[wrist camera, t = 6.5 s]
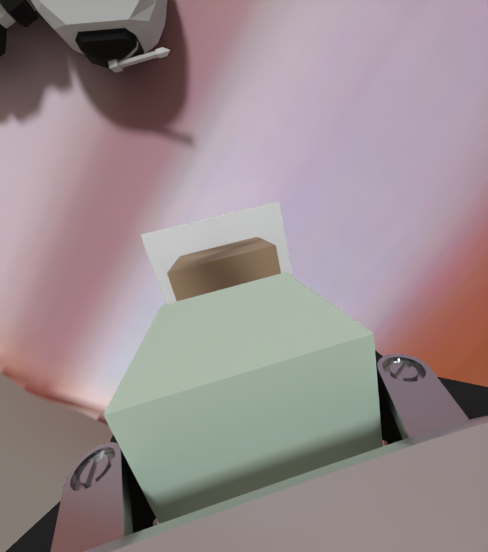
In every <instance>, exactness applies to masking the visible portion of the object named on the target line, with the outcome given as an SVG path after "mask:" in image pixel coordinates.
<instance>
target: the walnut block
mask: <svg viewBox="0 0 488 552" xmlns="http://www.w3.org/2000/svg"><path fill="white" fill-rule="evenodd" d="M277 274H281V270H280V265H279V259H278V254H277V249H276V245H274V244H272V243H270V242H268V241H266V240H264V239H261V238H259V237H254V238H250V239H246V240H242V241H238V242H234V243H230V244H226V245H222V246H218V247H214V248H210V249H206V250H202V251H198V252H194V253H190V254H186V255H182V256H179V258H178V259H177V260H176V262H175V263H174V264H173V266H172V267H171V268H170V270H169V271H168V272H167V275H168V278H169V280H170V283H171V286H172V289H173V292H174V295H175V298H176V301H180V300H184V299H188V298H192V297H195V296H199V295H203V294H207V293H210V292H214V291H218V290H221V289H225V288H229V287H233V286H236V285H240V284H244V283H247V282H251V281H255V280H259V279H262V278H266V277H270V276H274V275H277Z"/></svg>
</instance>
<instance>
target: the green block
mask: <svg viewBox="0 0 488 552" xmlns="http://www.w3.org/2000/svg"><path fill="white" fill-rule="evenodd" d="M104 417H105V419H106V421H107V423H108V425H109V427H110V429H111V431H112V433H113V435H114V437H115V439H116V441H117V442H118V444H119V446H120V448H121V450H122V452H123V454H124V456H125V458H126V460H127V462H128V464H129V466H130V468H131V470H132V472H133V474H134V476H135V477H136V479H137V481H138V483H139V485H140V487H141V489H142V491H143V493H144V495H145V497H146V499H147V501H148V503H149V505H150V507H151V509H152V510H153V512H154V514H155V516H156V518H157V520H158V522H159V524H161V523H164V522H167V521H169V520H172V519H175V518H178V517H181V516H184V515H186V514H189V513H192V512H195V511H198V510H201V509H203V508H206V507H209V506H212V505H215V504H217V503H220V502H223V501H226V500H229V499H232V498H235V497H238V496H240V495H243V494H246V493H249V492H252V491H255V490H258V489H261V488H263V487H266V486H269V485H272V484H275V483H278V482H281V481H284V480H287V479H289V478H292V477H295V476H298V475H301V474H304V473H307V472H310V471H313V470H315V469H318V468H321V467H324V466H327V465H330V464H333V463H336V462H339V461H342V460H345V459H348V458H351V457H354V456H357V455H359V454H362V453H365V452H368V451H371V450H374V449H377V448H380V447H383V444H382V431H381V419H380V406H379V394H378V381H377V369H376V356H375V343H374V333H372V332H371V331H369V330H368V329H367V328H365V327H364V326H362V325H361V324H359V323H358V322H357V321H355V320H354V319H352V318H351V317H350V316H348V315H347V314H345V313H344V312H343V311H341V310H340V309H338V308H337V307H336V306H334V305H333V304H331V303H330V302H328V301H327V300H326V299H324V298H323V297H321V296H320V295H319V294H317V293H316V292H314V291H313V290H312V289H310V288H309V287H307V286H306V285H305V284H303V283H302V282H300V281H299V280H298V279H296V278H295V277H293V276H292V275H290V274H289V273H288V272H285V273H281V274H277V275H274V276H270V277H266V278H262V279H259V280H255V281H251V282H247V283H244V284H240V285H236V286H233V287H229V288H225V289H221V290H218V291H214V292H210V293H207V294H203V295H199V296H195V297H192V298H188V299H184V300H180V301H177V302H173V303H169V304H166V305H162V306H161V308H160V309H159V311H158V313H157V315H156V317H155V319H154V321H153V323H152V324H151V326H150V328H149V330H148V332H147V334H146V336H145V338H144V340H143V341H142V343H141V345H140V347H139V349H138V351H137V353H136V355H135V357H134V358H133V360H132V362H131V364H130V366H129V368H128V370H127V372H126V373H125V375H124V377H123V379H122V381H121V383H120V385H119V387H118V389H117V390H116V392H115V394H114V396H113V398H112V400H111V402H110V404H109V406H108V407H107V409H106V411H105V413H104Z"/></svg>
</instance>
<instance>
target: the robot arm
mask: <svg viewBox="0 0 488 552" xmlns="http://www.w3.org/2000/svg"><path fill="white" fill-rule="evenodd" d="M375 356H376V369H377V381H378V394H379V406H380V419H381V431H382V440H383V441H384V444H385V446H383V447H380V448H377V449H374V450H371V451H368V452H365V453H362V454H359V455H357V456H354V457H351V458H348V459H345V460H342V461H339V462H336V463H333V464H330V465H327V466H324V467H321V468H318V469H315V470H313V471H310V472H307V473H304V474H301V475H298V476H295V477H292V478H289V479H287V480H284V481H281V482H278V483H275V484H272V485H269V486H266V487H263V488H261V489H258V490H255V491H252V492H249V493H246V494H243V495H240V496H238V497H235V498H232V499H229V500H226V501H223V502H220V503H217V504H215V505H212V506H209V507H206V508H203V509H201V510H198V511H195V512H192V513H189V514H186V515H184V516H181V517H178V518H175V519H172V520H169V521H167V522H164V523H161V524H157V519H156V516H155V514H154V512H153V510H152V509H151V507H150V505H149V503H148V501H147V499H146V497H145V495H144V493H143V491H142V489H141V487H140V485H139V483H138V481H137V479H136V477H135V476H134V474H133V472H132V470H131V468H130V466H129V464H128V462H127V460H126V458H125V456H124V454H123V452H122V450H121V448H120V446H119V444H118V442H117V441H116V439H115V437H114V435H113V436H112V439H111V441H110V442H108V443H104V444H101V445H99V446H97V447H95V448H94V449H93V450H91V451H89V452H88V453H87V454H86V455H84V456H83V457H82V458H81V459H80V460H79V461H78V462H77V464H76V465H75V466H74V467H73V468H72V470H71V471H70V473H69V474H68V476H67V478H66V481H65V483H64V487H63V492H62V497H61V501H60V502H59V503H58V504H57V505H55V506H54V507H53V508H52V509H51V510H50V511H49V512H48V513H47V514H46V515H45V516H44V517H42V518H41V519H40V520H39V521H38V522H37V523H36V524H35V525H34V526H33V527H32V528H31V529H29V530H28V531H27V532H26V533H25V534H24V535H23V536H22V537H21V538H20V539H19V540H18V541H17V542H16V543H14V544H13V545H12V546H11V547H10V548H9V549H8V550H7V551H6V552H488V387H484V386H479V385H475V384H470V383H465V382H460V381H455V380H450V379H445V378H440V377H437V376H436V375H435V374H434V372H433V371H432V370H431V368H430V367H429V366H428V365H427V364H426V363H425V362H423V361H421V360H419V359H418V358H415V357H412V356H409V355H404V354H390V355H386V356H384V357H383V356H382V355H380V354H379V353H378V352H377V351H375Z"/></svg>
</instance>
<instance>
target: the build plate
mask: <svg viewBox="0 0 488 552" xmlns="http://www.w3.org/2000/svg"><path fill="white" fill-rule="evenodd" d="M141 237H142V240H143V243H144V246H145V249H146V251H147V254H148V257H149V260H150V262H151V265H152V268H153V271H154V274H155V276H156V279H157V282H158V285H159V288H160V290H161V293H162V296H163V299H164V302H165V304H169V303H173V302H177V301H176V298H175V295H174V292H173V289H172V286H171V283H170V280H169V278H168V275H167V272H168V271H169V270H170V268H171V267H172V266H173V264H174V263H175V262H176V260H177V259H178V258H179V256H182V255H186V254H190V253H194V252H198V251H202V250H206V249H210V248H214V247H218V246H222V245H226V244H230V243H234V242H238V241H242V240H246V239H250V238H254V237H259V238H261V239H264V240H266V241H268V242H270V243H272V244H274V245H276V249H277V254H278V259H279V265H280V270H281V273H285V272H288V273H289V274H290V275H292V271H291V265H290V259H289V254H288V248H287V243H286V237H285V231H284V226H283V220H282V215H281V209H280V203H279V201H277V202H273V203H269V204H265V205H261V206H257V207H252V208H248V209H244V210H240V211H236V212H232V213H228V214H224V215H219V216H215V217H211V218H207V219H203V220H199V221H195V222H191V223H186V224H182V225H178V226H174V227H170V228H166V229H162V230H158V231H153V232H149V233H145V234H142V235H141Z"/></svg>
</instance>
